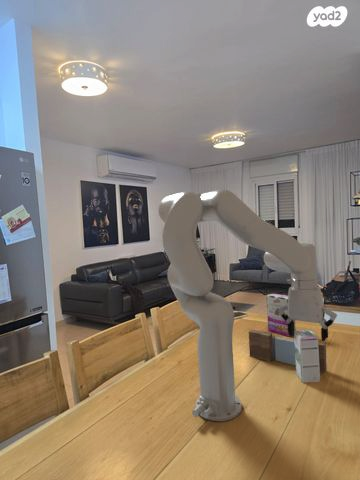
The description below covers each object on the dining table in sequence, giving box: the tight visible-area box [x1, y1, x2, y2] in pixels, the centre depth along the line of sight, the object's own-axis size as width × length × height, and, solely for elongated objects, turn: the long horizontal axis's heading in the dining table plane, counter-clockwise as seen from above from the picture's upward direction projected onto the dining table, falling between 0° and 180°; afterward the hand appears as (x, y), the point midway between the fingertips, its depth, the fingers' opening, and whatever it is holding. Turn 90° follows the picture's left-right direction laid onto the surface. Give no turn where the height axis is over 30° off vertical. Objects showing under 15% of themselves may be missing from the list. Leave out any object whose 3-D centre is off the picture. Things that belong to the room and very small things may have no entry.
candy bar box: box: [266, 292, 297, 338], centre depth 137 cm, size 11×5×16 cm, turn 37°
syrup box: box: [293, 329, 321, 383], centre depth 99 cm, size 6×6×14 cm
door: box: [272, 334, 296, 366], centre depth 108 cm, size 2×13×9 cm, turn 52°
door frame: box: [248, 329, 328, 375], centre depth 109 cm, size 3×26×10 cm, turn 53°
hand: (307, 337), depth 99 cm, fingers open, 9 cm apart
